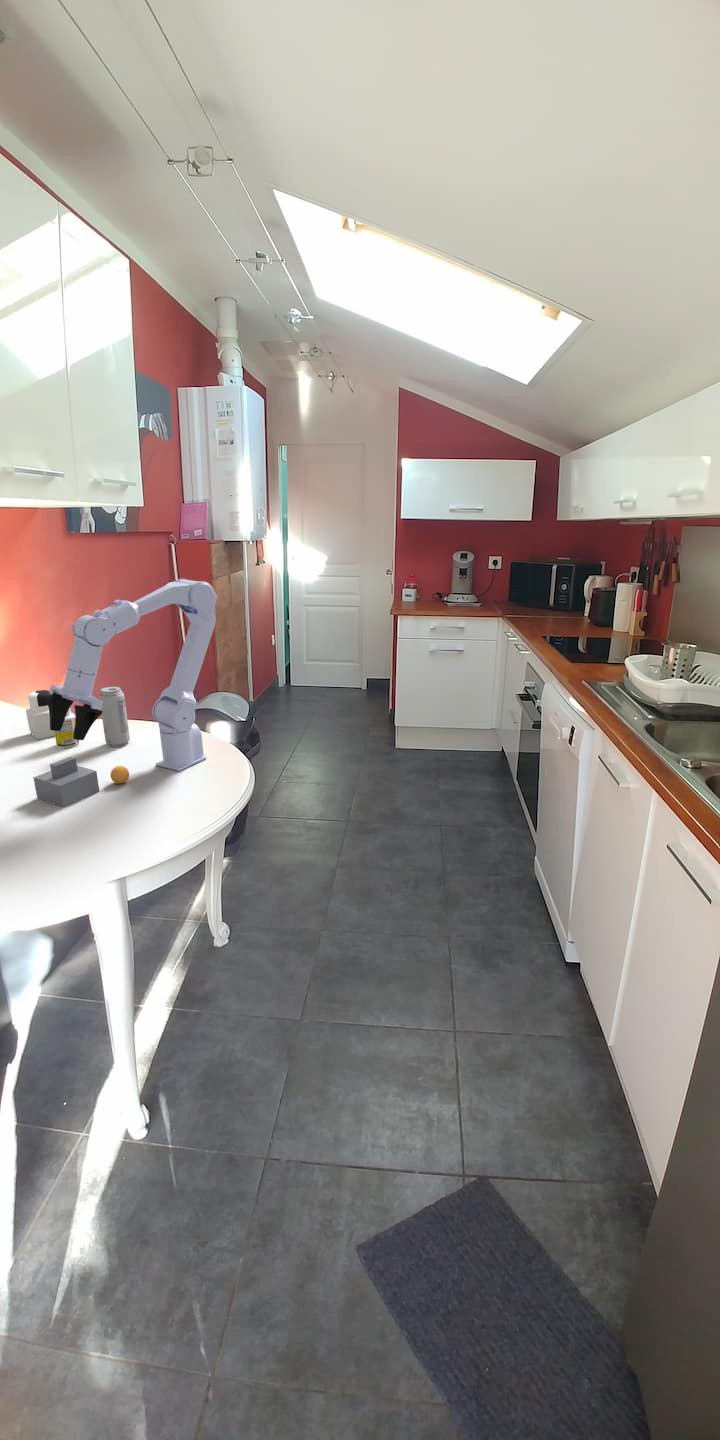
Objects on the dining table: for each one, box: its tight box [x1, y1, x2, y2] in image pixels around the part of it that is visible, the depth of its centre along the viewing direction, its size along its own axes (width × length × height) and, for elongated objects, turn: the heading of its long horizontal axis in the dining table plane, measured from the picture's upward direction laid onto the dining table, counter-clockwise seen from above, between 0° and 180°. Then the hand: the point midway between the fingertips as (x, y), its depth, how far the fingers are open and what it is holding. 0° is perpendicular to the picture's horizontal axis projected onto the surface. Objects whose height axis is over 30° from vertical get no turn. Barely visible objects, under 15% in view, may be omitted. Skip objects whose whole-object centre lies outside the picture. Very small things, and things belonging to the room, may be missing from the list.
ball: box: [110, 765, 130, 785], centre depth 152 cm, size 4×4×4 cm
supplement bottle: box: [54, 707, 80, 749], centre depth 175 cm, size 6×6×10 cm
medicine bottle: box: [25, 689, 55, 740], centre depth 183 cm, size 7×7×12 cm
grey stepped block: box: [33, 756, 100, 808], centre depth 146 cm, size 9×9×8 cm
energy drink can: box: [98, 685, 131, 748], centre depth 174 cm, size 6×6×15 cm
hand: (66, 735), depth 142 cm, fingers open, 7 cm apart
